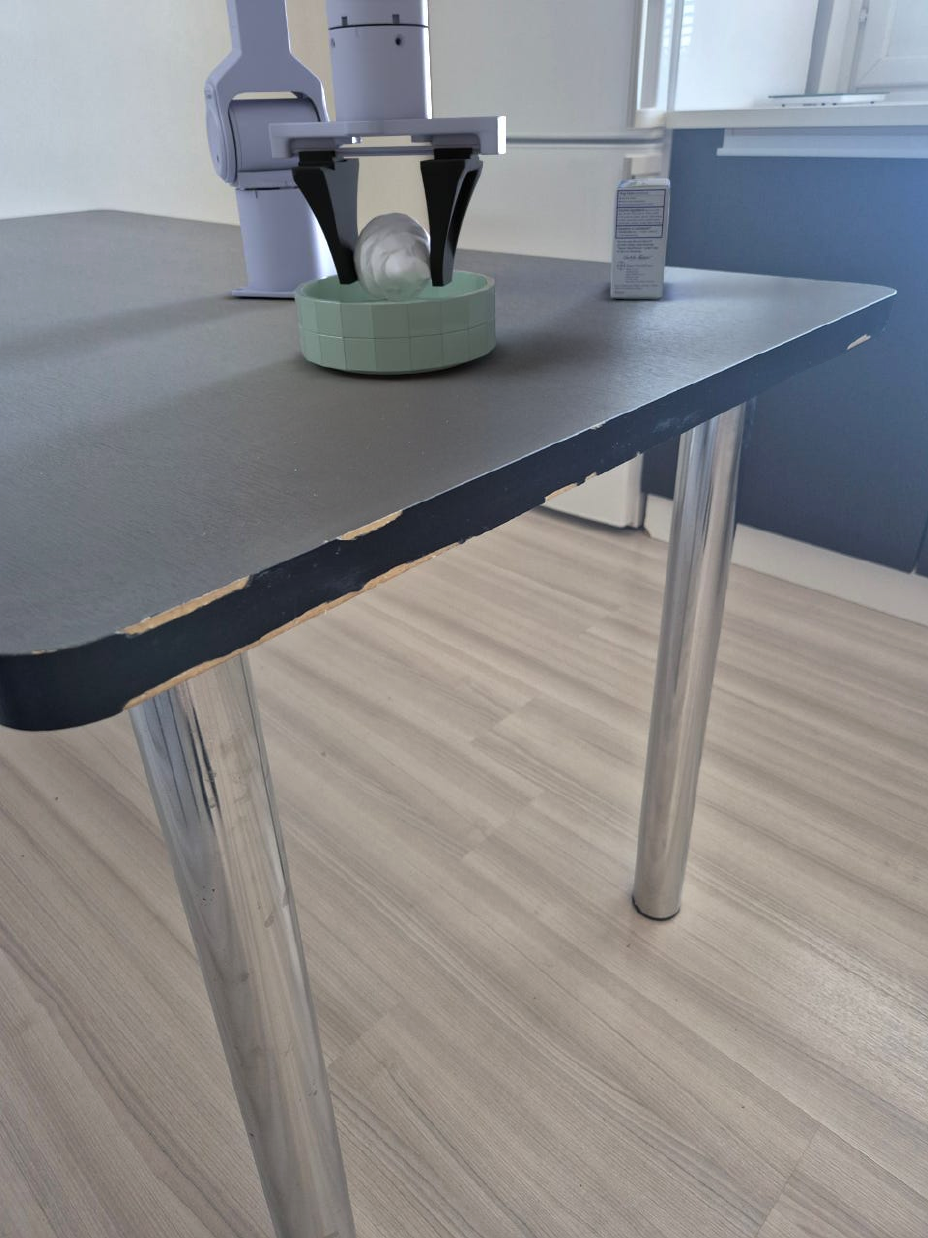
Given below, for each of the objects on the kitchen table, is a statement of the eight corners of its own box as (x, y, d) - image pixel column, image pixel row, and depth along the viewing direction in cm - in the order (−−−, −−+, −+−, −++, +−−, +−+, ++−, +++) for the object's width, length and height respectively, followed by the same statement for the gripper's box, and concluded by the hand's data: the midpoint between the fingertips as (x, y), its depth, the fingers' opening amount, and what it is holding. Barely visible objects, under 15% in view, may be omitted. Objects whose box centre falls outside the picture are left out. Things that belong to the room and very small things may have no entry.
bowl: (350, 329, 64) (344, 266, 62) (515, 336, 61) (515, 269, 59) (268, 374, 54) (258, 300, 52) (463, 385, 50) (461, 306, 48)
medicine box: (662, 300, 71) (672, 184, 66) (608, 299, 72) (614, 185, 67) (662, 283, 77) (671, 177, 73) (613, 283, 78) (619, 178, 74)
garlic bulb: (378, 318, 52) (370, 222, 50) (353, 302, 57) (344, 213, 54) (460, 309, 54) (457, 215, 51) (429, 294, 59) (424, 207, 56)
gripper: (230, 32, 47) (266, 291, 54) (481, 16, 43) (485, 297, 50) (288, 40, 53) (314, 273, 60) (514, 26, 49) (514, 276, 56)
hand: (395, 283), depth 55 cm, fingers closed on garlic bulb, 6 cm apart
